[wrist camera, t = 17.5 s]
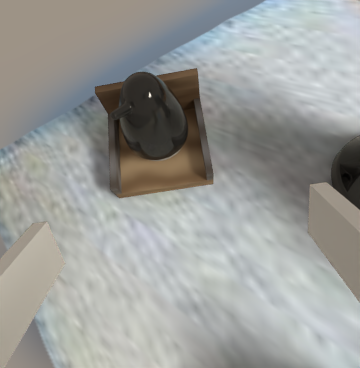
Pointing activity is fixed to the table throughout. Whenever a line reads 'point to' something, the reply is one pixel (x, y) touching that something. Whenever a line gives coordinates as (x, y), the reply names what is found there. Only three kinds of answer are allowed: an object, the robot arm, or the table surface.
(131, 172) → the stand
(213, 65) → the table surface
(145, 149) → the pump dispenser
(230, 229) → the table surface
